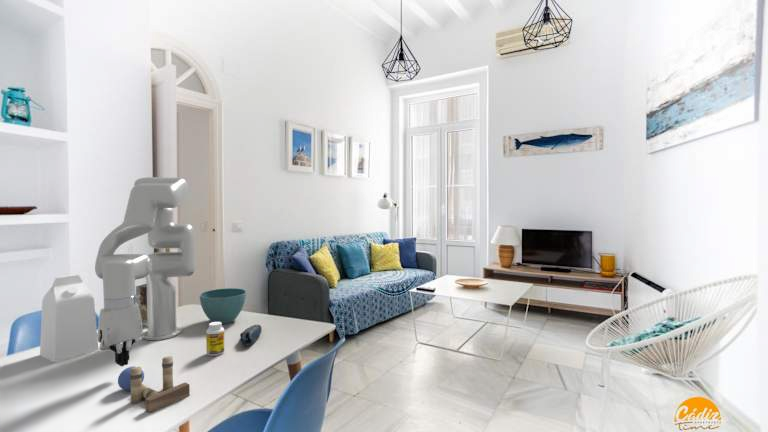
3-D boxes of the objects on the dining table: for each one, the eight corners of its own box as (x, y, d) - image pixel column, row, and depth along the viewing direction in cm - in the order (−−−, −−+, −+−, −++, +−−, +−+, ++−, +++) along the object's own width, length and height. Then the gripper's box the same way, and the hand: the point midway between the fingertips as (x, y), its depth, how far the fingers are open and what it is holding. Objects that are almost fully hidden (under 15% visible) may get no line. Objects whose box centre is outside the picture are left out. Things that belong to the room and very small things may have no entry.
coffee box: (166, 322, 163) (165, 284, 162) (152, 326, 157) (151, 287, 156) (150, 319, 166) (149, 282, 165) (136, 324, 160) (135, 285, 159)
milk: (82, 343, 138) (80, 271, 137) (98, 349, 132) (96, 274, 131) (39, 355, 128) (37, 277, 127) (55, 362, 122) (52, 281, 121)
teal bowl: (212, 314, 174) (212, 287, 173) (252, 315, 173) (252, 288, 172) (191, 328, 155) (190, 297, 155) (236, 328, 155) (235, 298, 154)
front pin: (132, 394, 101) (149, 403, 97) (136, 384, 102) (152, 392, 97) (143, 393, 103) (159, 402, 99) (146, 383, 104) (162, 391, 99)
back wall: (145, 410, 94) (145, 398, 94) (185, 393, 103) (185, 382, 103) (150, 413, 93) (149, 400, 93) (189, 395, 102) (189, 384, 102)
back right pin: (128, 402, 98) (127, 369, 98) (139, 397, 100) (138, 365, 100) (133, 405, 97) (132, 371, 96) (144, 400, 99) (143, 368, 99)
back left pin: (160, 389, 105) (160, 358, 105) (170, 385, 107) (169, 355, 107) (165, 391, 104) (165, 360, 103) (175, 387, 106) (174, 357, 105)
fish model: (234, 349, 133) (234, 335, 133) (247, 330, 154) (247, 317, 154) (254, 348, 134) (254, 334, 134) (264, 329, 155) (264, 317, 155)
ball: (122, 384, 100) (126, 399, 103) (146, 370, 104) (149, 385, 107) (111, 371, 103) (115, 385, 106) (135, 358, 107) (139, 372, 110)
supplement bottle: (208, 357, 126) (207, 327, 126) (205, 352, 131) (204, 322, 130) (226, 354, 129) (225, 324, 129) (222, 348, 134) (222, 319, 133)
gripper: (141, 294, 119) (143, 352, 120) (83, 306, 106) (86, 371, 107) (154, 298, 115) (156, 358, 116) (95, 311, 102) (98, 378, 103)
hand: (122, 364), depth 112 cm, fingers closed
